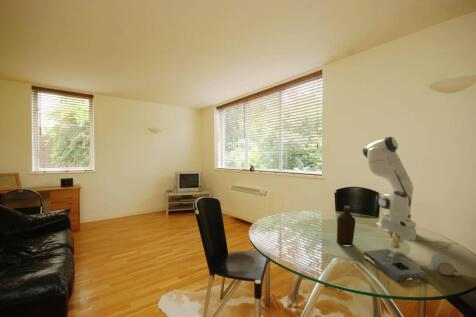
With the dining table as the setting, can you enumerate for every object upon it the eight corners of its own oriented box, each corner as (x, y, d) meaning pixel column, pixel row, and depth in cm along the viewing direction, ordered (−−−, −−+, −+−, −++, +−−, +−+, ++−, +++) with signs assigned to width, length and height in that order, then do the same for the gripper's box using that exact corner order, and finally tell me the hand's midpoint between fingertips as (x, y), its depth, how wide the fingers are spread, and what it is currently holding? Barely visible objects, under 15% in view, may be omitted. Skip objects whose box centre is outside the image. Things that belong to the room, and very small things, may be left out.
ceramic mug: (436, 274, 115) (438, 260, 114) (429, 265, 123) (431, 252, 122) (463, 279, 111) (465, 265, 110) (454, 270, 119) (456, 256, 118)
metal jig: (363, 257, 130) (364, 251, 130) (387, 254, 133) (387, 248, 133) (397, 282, 109) (397, 275, 108) (424, 278, 112) (424, 271, 111)
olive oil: (357, 246, 142) (360, 208, 139) (342, 248, 140) (345, 209, 137) (346, 238, 152) (349, 203, 149) (332, 240, 150) (334, 204, 147)
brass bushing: (389, 245, 138) (390, 232, 137) (395, 244, 139) (396, 232, 138) (396, 248, 134) (397, 236, 133) (401, 248, 135) (403, 235, 134)
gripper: (379, 213, 144) (377, 233, 145) (410, 226, 124) (408, 249, 126) (387, 212, 145) (385, 232, 147) (419, 225, 125) (416, 248, 127)
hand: (396, 240), depth 136 cm, fingers closed on brass bushing, 4 cm apart
